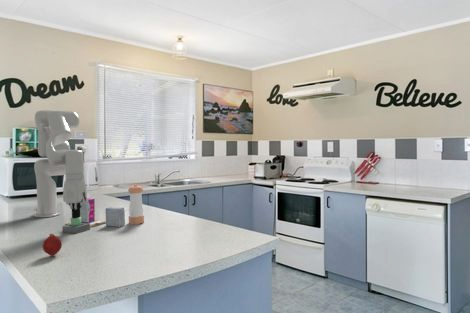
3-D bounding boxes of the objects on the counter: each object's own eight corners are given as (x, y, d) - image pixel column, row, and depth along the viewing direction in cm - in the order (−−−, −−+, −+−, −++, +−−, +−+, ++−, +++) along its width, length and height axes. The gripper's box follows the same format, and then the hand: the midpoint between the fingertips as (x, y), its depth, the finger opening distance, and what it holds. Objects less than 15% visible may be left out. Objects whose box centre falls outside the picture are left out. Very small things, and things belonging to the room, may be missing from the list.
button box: (62, 231, 153) (62, 226, 153) (77, 227, 160) (76, 222, 160) (75, 233, 150) (75, 227, 150) (89, 229, 157) (89, 223, 157)
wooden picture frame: (65, 225, 166) (65, 222, 166) (83, 220, 176) (83, 218, 176) (90, 227, 160) (89, 225, 160) (107, 222, 170) (107, 220, 170)
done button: (68, 229, 154) (68, 218, 153) (76, 227, 158) (76, 216, 158) (75, 230, 152) (75, 218, 152) (83, 227, 156) (83, 217, 156)
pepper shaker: (128, 225, 164) (127, 185, 164) (129, 221, 171) (128, 184, 171) (144, 223, 166) (143, 184, 166) (143, 220, 173) (143, 183, 173)
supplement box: (87, 223, 164) (87, 200, 164) (77, 223, 166) (76, 199, 166) (95, 221, 170) (94, 198, 170) (85, 220, 172) (84, 197, 171)
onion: (47, 253, 121) (47, 231, 121) (64, 253, 122) (64, 230, 122) (39, 259, 116) (39, 235, 115) (57, 258, 116) (56, 235, 116)
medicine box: (125, 225, 165) (124, 207, 164) (119, 227, 160) (118, 208, 160) (111, 224, 167) (111, 206, 167) (105, 226, 163) (105, 208, 163)
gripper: (55, 177, 154) (57, 218, 154) (80, 178, 148) (81, 220, 148) (69, 176, 160) (70, 215, 161) (93, 177, 155) (94, 217, 155)
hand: (76, 217), depth 155 cm, fingers closed
